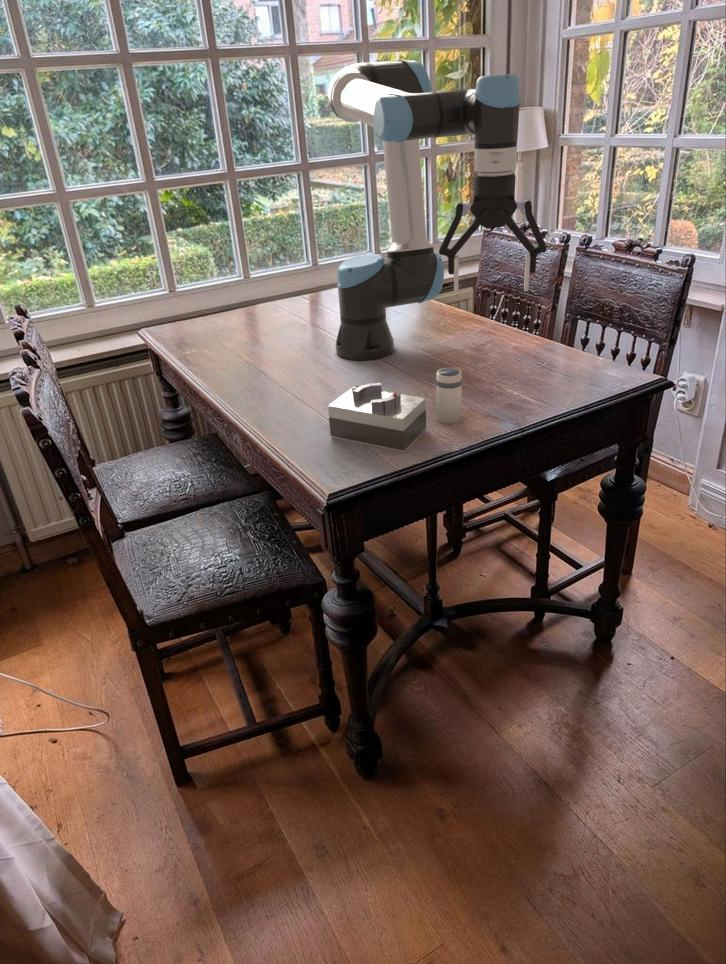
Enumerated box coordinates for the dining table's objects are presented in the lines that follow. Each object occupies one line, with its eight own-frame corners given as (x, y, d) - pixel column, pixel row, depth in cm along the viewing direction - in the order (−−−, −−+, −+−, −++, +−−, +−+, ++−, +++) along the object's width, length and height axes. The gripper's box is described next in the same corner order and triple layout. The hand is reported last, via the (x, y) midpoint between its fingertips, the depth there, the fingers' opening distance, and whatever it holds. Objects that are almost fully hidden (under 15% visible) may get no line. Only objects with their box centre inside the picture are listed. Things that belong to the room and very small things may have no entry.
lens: (432, 421, 139) (431, 374, 134) (442, 411, 143) (442, 365, 137) (455, 425, 136) (456, 378, 131) (465, 415, 140) (466, 368, 135)
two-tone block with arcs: (330, 437, 135) (326, 393, 130) (355, 417, 142) (352, 374, 137) (403, 452, 128) (402, 406, 123) (426, 430, 135) (425, 386, 130)
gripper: (424, 178, 123) (426, 296, 134) (567, 172, 119) (557, 294, 129) (427, 173, 129) (429, 286, 140) (563, 167, 125) (554, 283, 136)
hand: (490, 290), depth 135 cm, fingers open, 13 cm apart
